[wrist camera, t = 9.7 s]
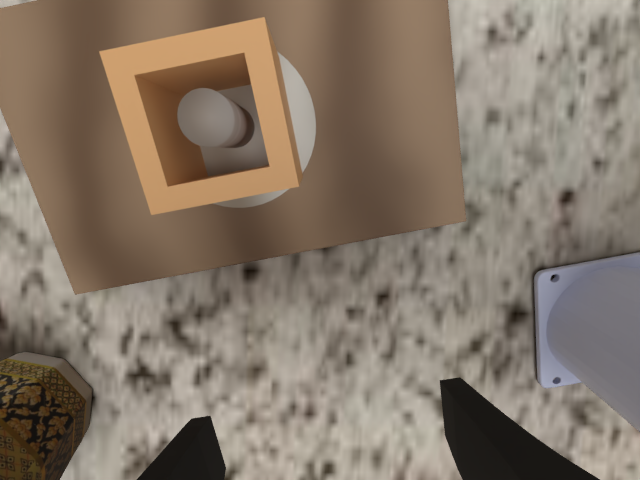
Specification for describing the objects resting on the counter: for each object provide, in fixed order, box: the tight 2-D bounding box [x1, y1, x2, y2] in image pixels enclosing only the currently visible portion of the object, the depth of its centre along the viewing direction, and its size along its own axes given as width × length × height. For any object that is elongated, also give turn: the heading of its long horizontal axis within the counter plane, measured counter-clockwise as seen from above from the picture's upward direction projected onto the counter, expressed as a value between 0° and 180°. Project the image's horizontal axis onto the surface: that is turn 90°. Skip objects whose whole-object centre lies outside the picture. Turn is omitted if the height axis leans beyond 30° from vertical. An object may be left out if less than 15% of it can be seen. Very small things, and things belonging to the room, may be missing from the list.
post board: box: [0, 0, 466, 294], centre depth 15 cm, size 22×14×6 cm, turn 101°
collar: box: [99, 17, 303, 215], centre depth 14 cm, size 6×6×5 cm
